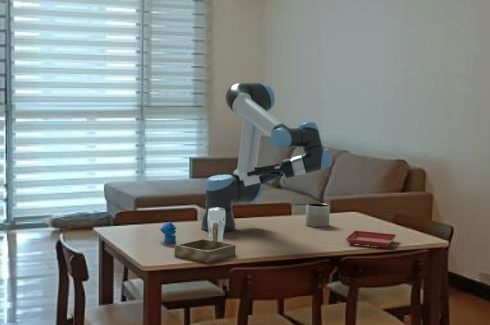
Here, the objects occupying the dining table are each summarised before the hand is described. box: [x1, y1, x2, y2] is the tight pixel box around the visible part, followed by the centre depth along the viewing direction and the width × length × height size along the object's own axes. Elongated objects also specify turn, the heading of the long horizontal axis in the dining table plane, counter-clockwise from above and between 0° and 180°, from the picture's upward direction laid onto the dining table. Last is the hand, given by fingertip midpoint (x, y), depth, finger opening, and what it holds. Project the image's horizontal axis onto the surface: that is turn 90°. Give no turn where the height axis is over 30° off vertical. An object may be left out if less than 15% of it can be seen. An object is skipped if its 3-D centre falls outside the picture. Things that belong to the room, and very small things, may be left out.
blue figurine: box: [159, 221, 177, 244], centre depth 304 cm, size 7×8×11 cm
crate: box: [174, 238, 236, 264], centre depth 282 cm, size 16×16×4 cm
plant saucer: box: [345, 230, 397, 249], centre depth 313 cm, size 18×18×3 cm
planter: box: [305, 202, 331, 228], centre depth 349 cm, size 11×11×10 cm
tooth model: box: [208, 207, 225, 243], centre depth 297 cm, size 7×7×15 cm
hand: (241, 180), depth 305 cm, fingers open, 13 cm apart
